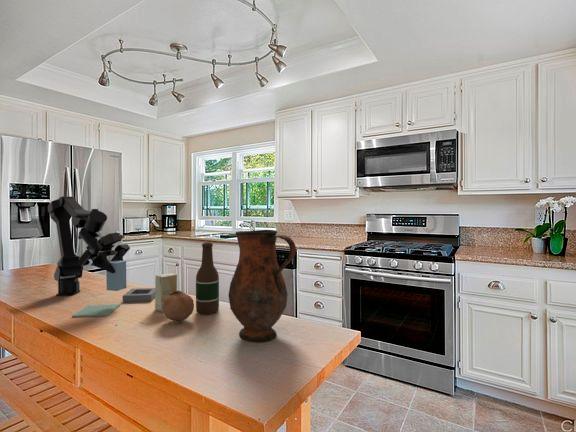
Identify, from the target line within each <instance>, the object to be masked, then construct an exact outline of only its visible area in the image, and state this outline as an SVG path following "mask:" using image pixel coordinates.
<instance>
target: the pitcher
mask: <svg viewBox="0 0 576 432" xmlns="http://www.w3.org/2000/svg"><path fill="white" fill-rule="evenodd" d="M277 234H278V231H277V230H273V229H257V230H244V231H243V230H242V231H235V235H236V239H237V243H238V244H237V245H238V248H239V256H238V262H237V265H236V268H235V270H234V274H233V276H232V278H231V281H230V283H229V289H228V301H229V307H230V310H231V312H232V314H233V316H235V318H236V320H237V321H239V323H240V325H242V326H243V327H242V328H241V329H240V330H239V332H238V335H239V337H240V338H241V339H243V340H244V341H247V342H250V343H251V342H252V343H266V342H269V341H271V340H274V339H276V338H277V336H278V335H277V331H276V330H275V329H274V328H272V327H274V325H276V323H277V322H278V321H279V320H280V319H281V317H282V316H283V313H284V312H285V310H286V307H287V303H288V291H287V285H286V282H285V279H284V276H283V274H282V272H283V270H284V269H285V267H286V266H288V265H289V264H290V263H291V261H293V259H294V258H295V256H296V252H297V248H296V244H295V242H294V240H293V238H291V237H290V236H287V235H283V234H282V235H277ZM277 238H278V239H281V240H284V241H285V242H286V243H287V244H288V246H289V255H288V257H287V258H286V259H285V261H284V262H283V263H281V265H279V262H278V259H277V250H276V246H277V245H276V243H277Z"/></svg>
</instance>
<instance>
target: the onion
mask: <svg viewBox="0 0 576 432" xmlns="http://www.w3.org/2000/svg"><path fill="white" fill-rule="evenodd" d="M194 309H195V303H194V299H193V298H192V296H191V295H190V294H189V295H188V294H187V293H185V292H183V291H182V290H177V291H174V292H173V293H170V294H169V296H168V297H167V298H166V299H165V300H164V302H163V305H162V310H163V311H162V313H163V315H164V317H165V318H166V319H168V320H170V321H174V322H177V323H181V322H184V321H185V320H187V319H188V317H190V316H191V315H193V311H194Z"/></svg>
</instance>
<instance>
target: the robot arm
mask: <svg viewBox="0 0 576 432" xmlns="http://www.w3.org/2000/svg"><path fill="white" fill-rule="evenodd" d="M47 213H49V216H50V219H51V221H53V222H54V223H55V224H56V225H55V226H56V231H57V238H58V244H59V251H60V252H59V253H60V258H59V260H58V262H56V263H57V266H56V269H55V271H54V273H53V277H54V280H55V281H56V282H57V292H58V293H56V294H55V296H73V295H76V294H77V293H79V292H81V289H80V280H79V279H82V277H83V271H84V267H85V266H89V265H90V266H91V267H96V268H99V269H102V270H104V271H108V272H111V273H115V270H114V268H113V266H112V265H111V264H110V262H111V261H116V260H117V261H124V256H126V254H127V253H128V252H129V250H131V247H130V246H129V244H128V243H122V244H118V245H117V246H116V245H115V244H116V243H119V242H122V240H123V239H124V234H122V233H121V231H115V232H110V233H107V234H105V235H102V234H101V233H100V232H101V231H103V228H104V226H105V223H106V222H107V220H108V216H107V214H105V213H104V212H103V211H100V210H99V208H91V210H86V209H84V208H83V206H82V205H81V204H80V203H79V202H78V201H77V200H76V197H74V196H68V195H67V196H60V197H59V198H57V199H55V200H51V201H50V203H49V204H48V205H47ZM70 221H71V224H72V226H73V227H74V229H80V231H78V237H77V240H81V239H82V240H83V242H84V243H85V244H86V245H87V246H86V247H85V248H86V249H85V250H84V251H83V253H81V255H80V256H79V255H76V253H75V249H74V248H75V247H74V244H73V243H74V242H73V236H72V235H73V234H72V230H71V224H70ZM115 246H116V247H115ZM114 247H115V248H114ZM108 257H110V258H111V259H110V260H109V259H108ZM90 260H91V261H90ZM90 262H92V263H90Z"/></svg>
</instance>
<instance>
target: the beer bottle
mask: <svg viewBox="0 0 576 432" xmlns="http://www.w3.org/2000/svg"><path fill="white" fill-rule="evenodd" d="M213 246H214V245H213V242H203V243H202V244H201V247H202V250H201V251H202V255H201V265H200V267H199V269H198V271H197V273H196V275H195V311H196V313H197V314H199V315H204V316H208V315H214V314H216V313H217V312H218V311H219V310H220V308H219V307H220V277H219V272H218V269H217V267H216V266H215V265H214V258H213V257H214V256H213Z"/></svg>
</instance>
